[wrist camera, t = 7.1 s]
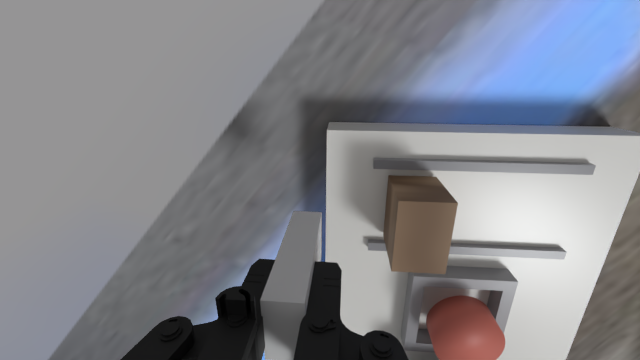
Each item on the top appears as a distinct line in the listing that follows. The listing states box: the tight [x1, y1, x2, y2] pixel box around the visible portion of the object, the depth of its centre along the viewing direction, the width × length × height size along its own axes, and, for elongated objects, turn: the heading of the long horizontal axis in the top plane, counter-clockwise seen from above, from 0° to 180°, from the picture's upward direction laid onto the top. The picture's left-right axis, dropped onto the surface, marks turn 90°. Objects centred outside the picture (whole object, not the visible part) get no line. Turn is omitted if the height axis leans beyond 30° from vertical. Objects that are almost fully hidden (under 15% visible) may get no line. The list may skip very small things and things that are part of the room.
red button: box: [426, 295, 505, 360], centre depth 20 cm, size 4×4×2 cm
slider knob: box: [383, 175, 458, 274], centre depth 18 cm, size 3×4×4 cm
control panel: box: [325, 122, 640, 360], centre depth 24 cm, size 19×26×4 cm
